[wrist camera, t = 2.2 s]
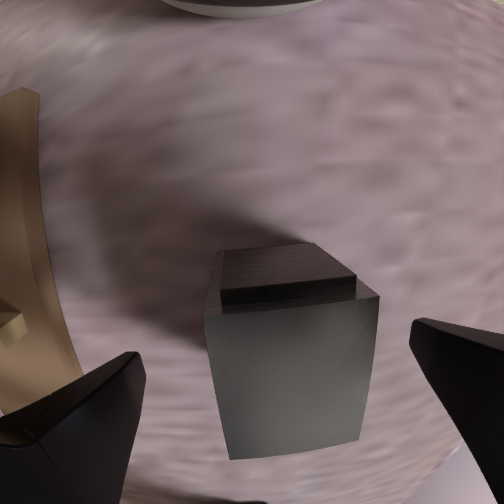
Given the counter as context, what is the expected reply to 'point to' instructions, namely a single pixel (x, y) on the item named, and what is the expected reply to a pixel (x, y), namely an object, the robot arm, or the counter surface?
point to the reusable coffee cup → (499, 1)
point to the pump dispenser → (241, 7)
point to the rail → (27, 269)
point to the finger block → (288, 349)
